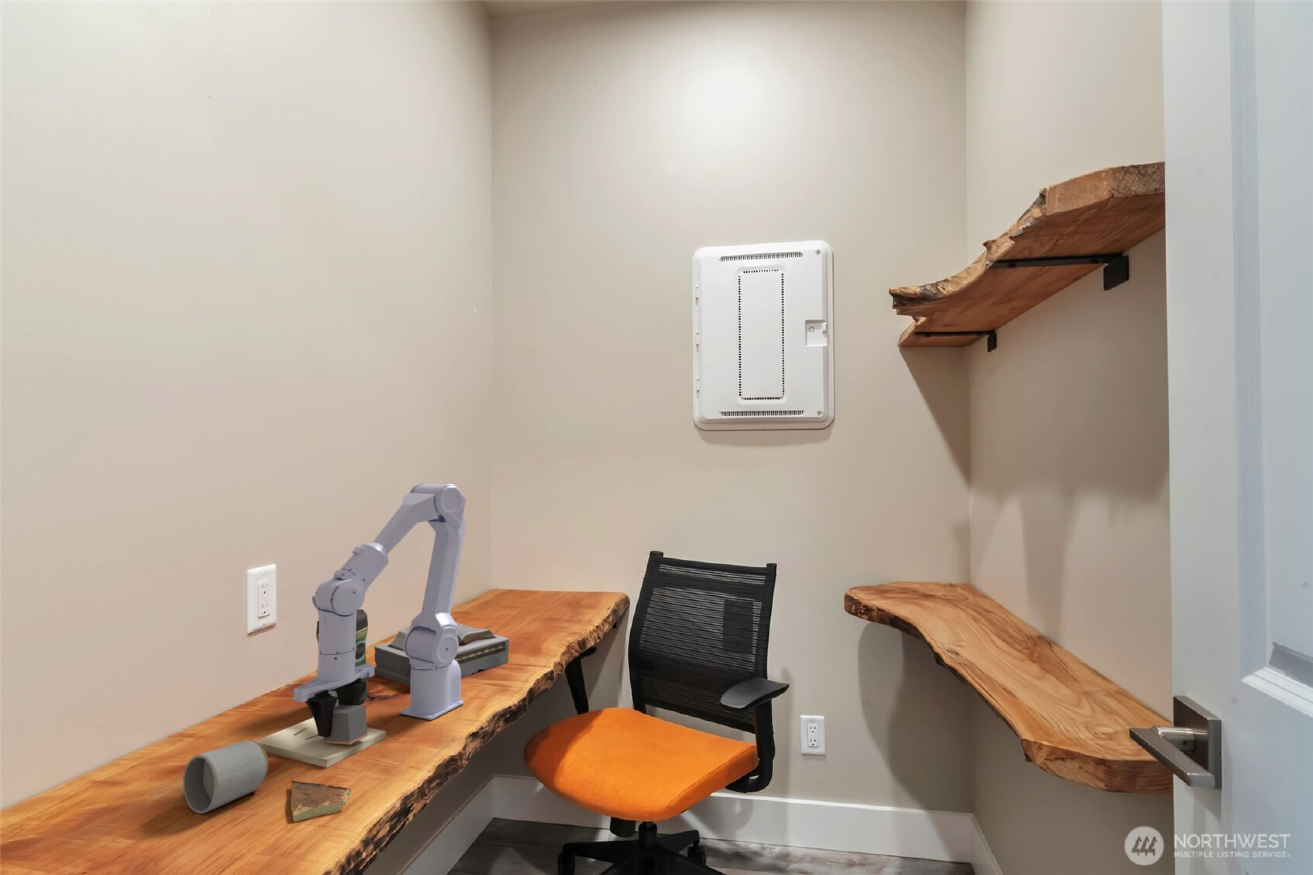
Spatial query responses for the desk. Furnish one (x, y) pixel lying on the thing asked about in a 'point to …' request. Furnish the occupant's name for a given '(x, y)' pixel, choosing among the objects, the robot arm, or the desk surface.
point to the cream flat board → (314, 744)
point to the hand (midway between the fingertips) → (335, 731)
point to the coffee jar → (360, 647)
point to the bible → (472, 655)
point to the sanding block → (348, 724)
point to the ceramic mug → (224, 775)
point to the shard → (316, 799)
